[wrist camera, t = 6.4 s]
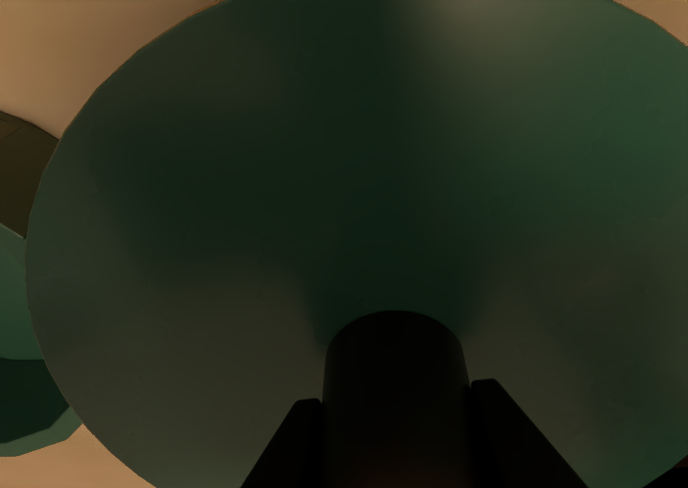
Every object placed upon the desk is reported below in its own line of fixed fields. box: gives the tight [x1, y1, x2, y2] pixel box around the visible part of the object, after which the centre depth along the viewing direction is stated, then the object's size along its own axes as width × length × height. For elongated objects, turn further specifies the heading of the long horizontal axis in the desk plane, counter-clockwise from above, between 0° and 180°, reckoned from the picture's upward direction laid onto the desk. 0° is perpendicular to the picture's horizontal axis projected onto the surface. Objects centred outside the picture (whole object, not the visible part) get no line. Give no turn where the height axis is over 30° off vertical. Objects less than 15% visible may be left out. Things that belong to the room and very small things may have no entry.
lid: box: [24, 0, 688, 488], centre depth 9 cm, size 14×14×6 cm
